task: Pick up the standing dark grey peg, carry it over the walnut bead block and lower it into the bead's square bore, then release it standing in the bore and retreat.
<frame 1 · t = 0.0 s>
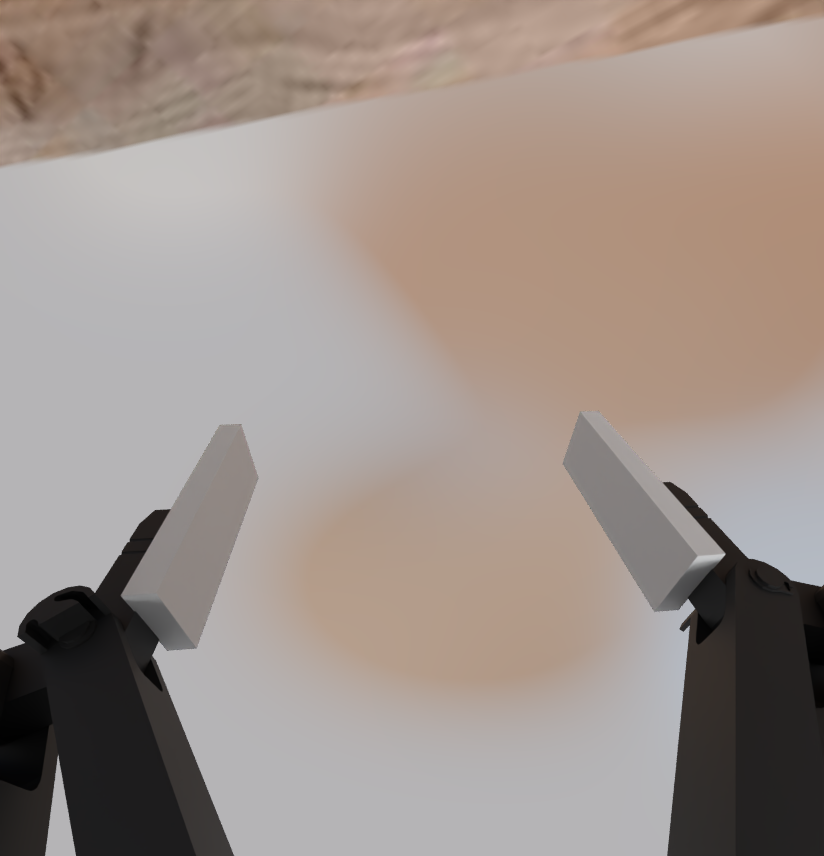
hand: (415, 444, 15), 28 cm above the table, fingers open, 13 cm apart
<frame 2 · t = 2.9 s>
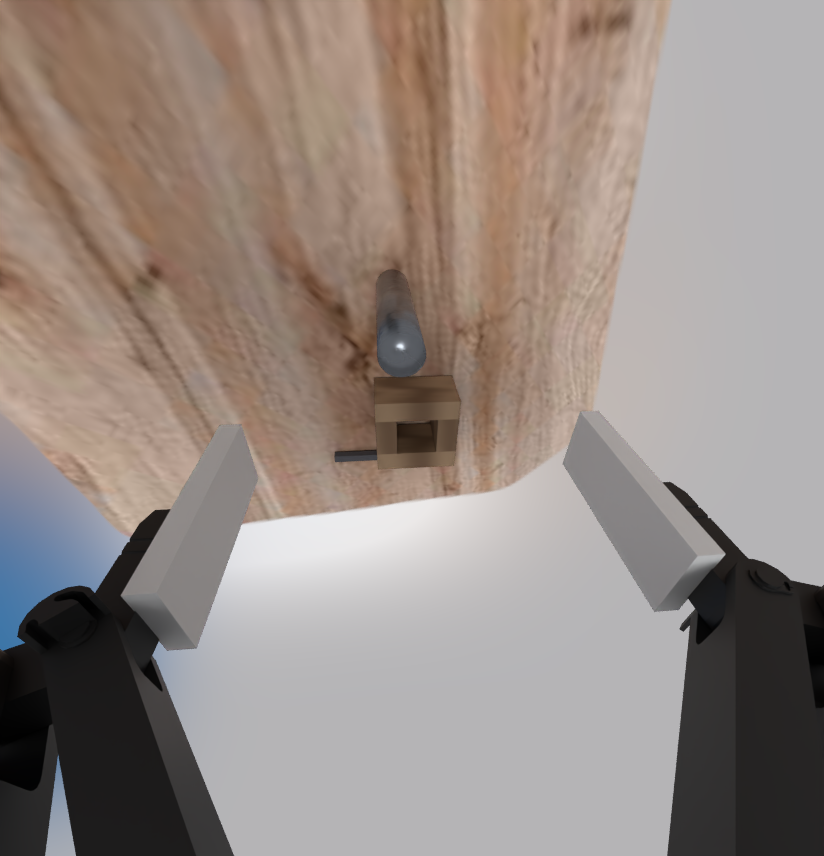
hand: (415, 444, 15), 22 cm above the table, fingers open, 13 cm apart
dark grey peg: (392, 286, 32), on the table
bead block: (412, 409, 40), on the table
dark grey rod: (395, 452, 44), on the table
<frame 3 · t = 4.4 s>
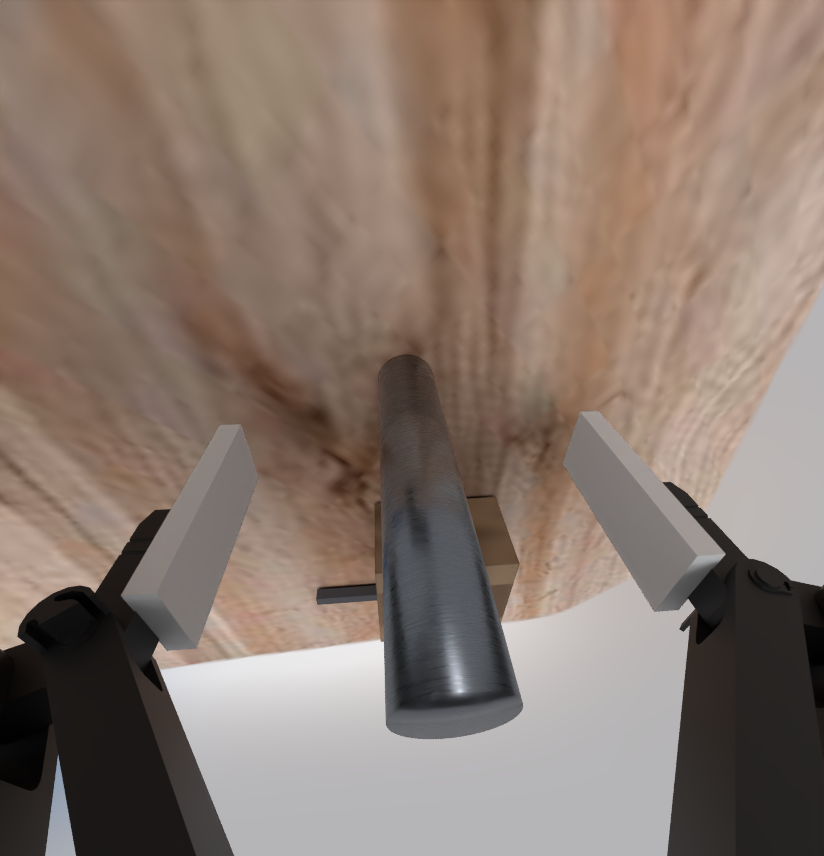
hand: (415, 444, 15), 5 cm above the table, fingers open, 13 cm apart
dark grey peg: (405, 380, 19), on the table
bead block: (433, 538, 27), on the table
dark grey rod: (405, 586, 30), on the table
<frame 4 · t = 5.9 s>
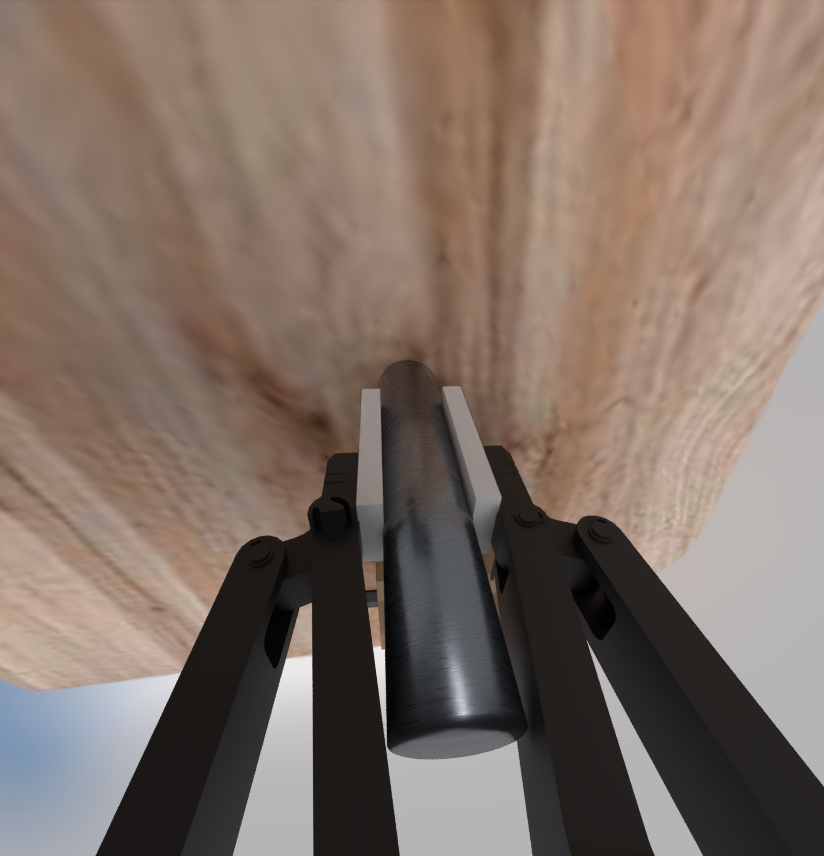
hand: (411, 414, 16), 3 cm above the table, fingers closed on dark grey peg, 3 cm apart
dark grey peg: (407, 386, 19), on the table, touching gripper
bead block: (434, 544, 26), on the table
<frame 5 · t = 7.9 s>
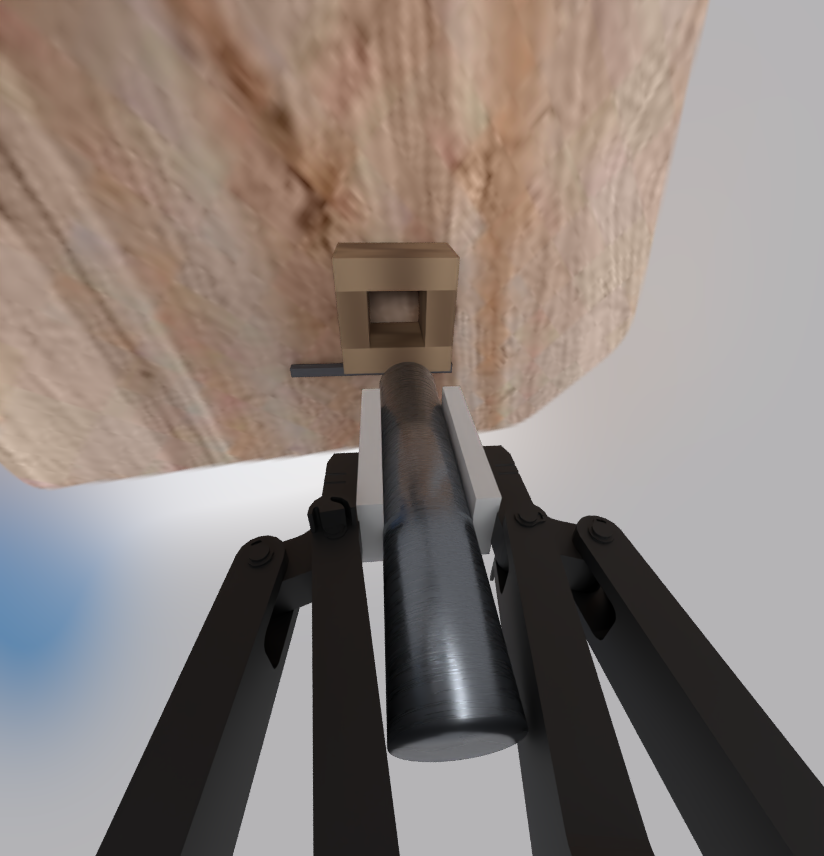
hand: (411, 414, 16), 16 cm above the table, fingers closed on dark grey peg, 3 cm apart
dark grey peg: (407, 387, 19), point 14 cm above the table, touching gripper
bead block: (394, 298, 29), on the table
dark grey rod: (372, 366, 33), on the table
when the fingers open (6 cm above the table, at t = 10.2 s): dark grey peg drops 3 cm, resting in bead block.
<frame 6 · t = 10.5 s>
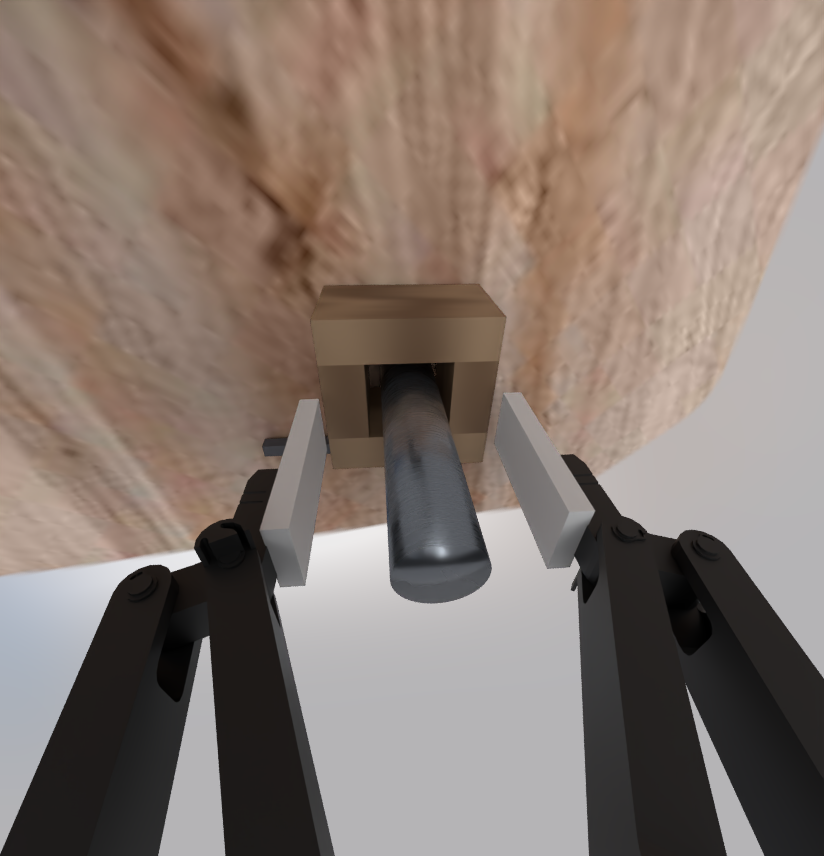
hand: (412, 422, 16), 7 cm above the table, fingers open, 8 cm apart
dark grey peg: (403, 356, 21), resting in bead block
bead block: (402, 356, 21), on the table
dark grey rod: (373, 439, 25), on the table
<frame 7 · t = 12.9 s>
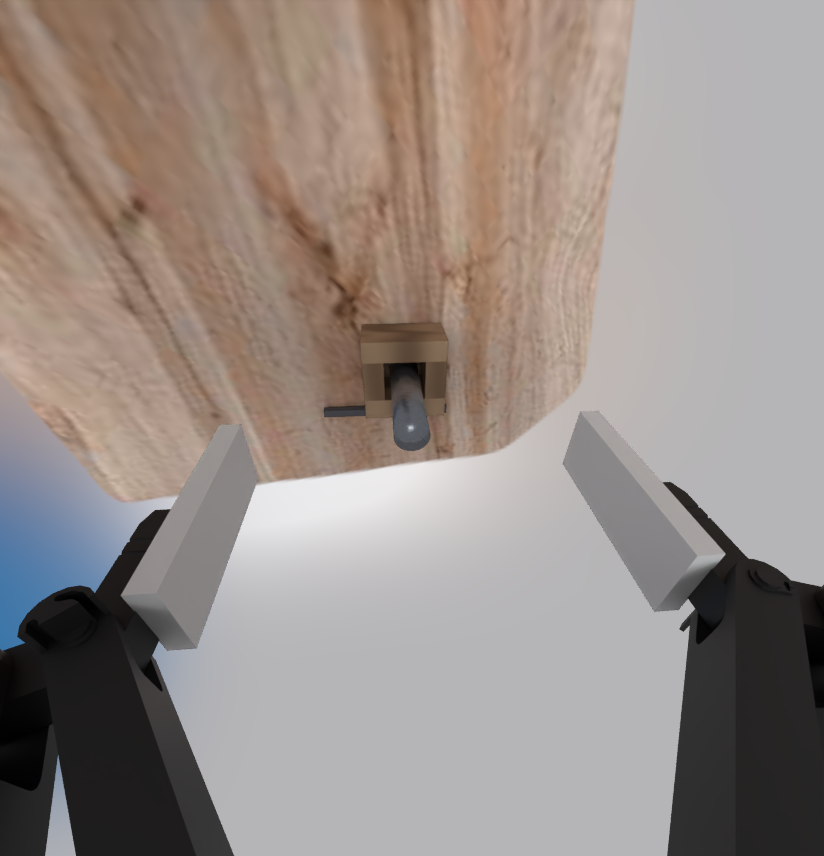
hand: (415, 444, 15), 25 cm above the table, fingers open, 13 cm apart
dark grey peg: (402, 360, 40), resting in bead block
bead block: (402, 360, 40), on the table
dark grey rod: (385, 408, 43), on the table
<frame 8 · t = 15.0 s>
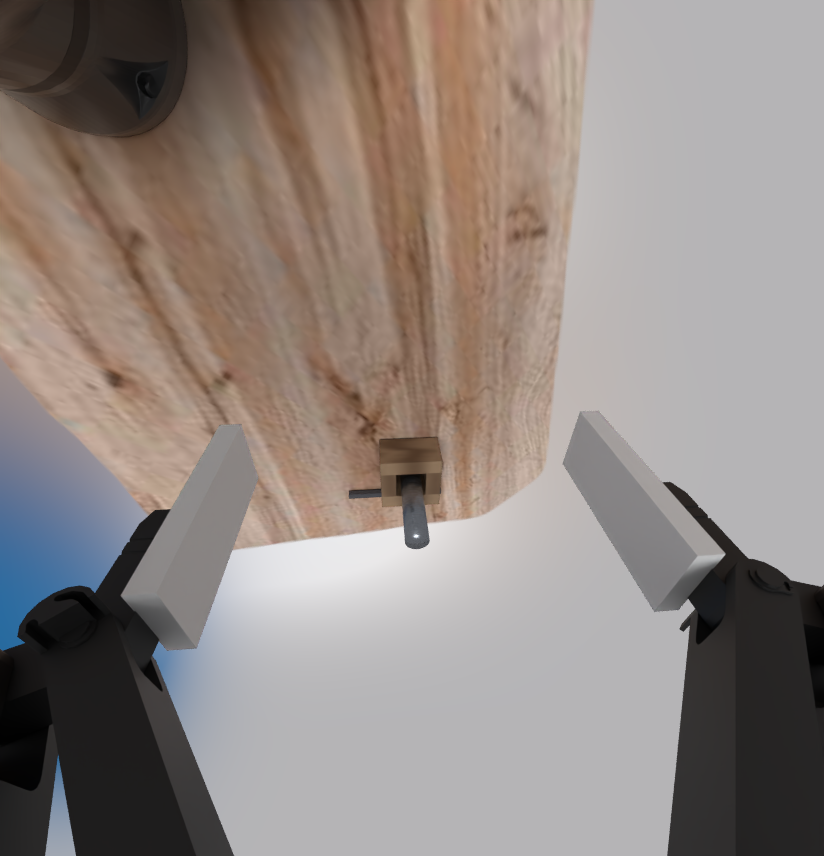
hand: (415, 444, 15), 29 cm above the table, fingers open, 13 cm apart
dark grey peg: (408, 460, 53), resting in bead block
bead block: (408, 460, 53), on the table
dark grey rod: (395, 490, 57), on the table
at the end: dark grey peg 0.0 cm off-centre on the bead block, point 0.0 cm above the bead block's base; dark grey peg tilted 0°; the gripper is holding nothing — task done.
